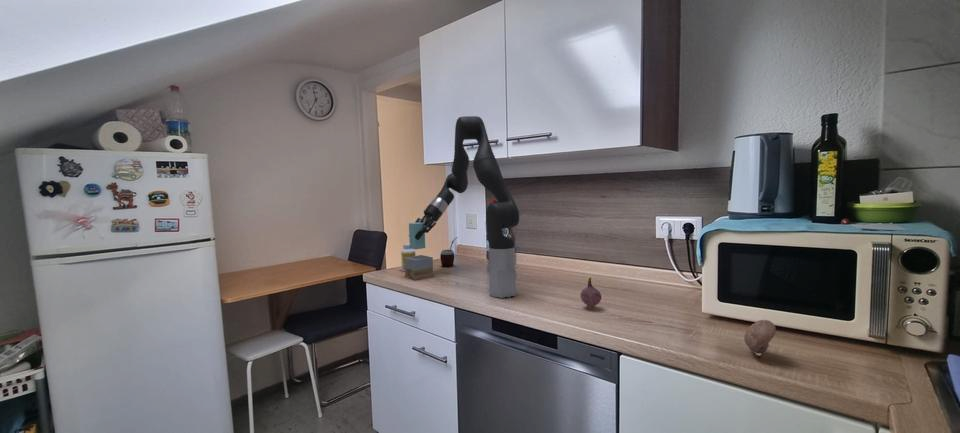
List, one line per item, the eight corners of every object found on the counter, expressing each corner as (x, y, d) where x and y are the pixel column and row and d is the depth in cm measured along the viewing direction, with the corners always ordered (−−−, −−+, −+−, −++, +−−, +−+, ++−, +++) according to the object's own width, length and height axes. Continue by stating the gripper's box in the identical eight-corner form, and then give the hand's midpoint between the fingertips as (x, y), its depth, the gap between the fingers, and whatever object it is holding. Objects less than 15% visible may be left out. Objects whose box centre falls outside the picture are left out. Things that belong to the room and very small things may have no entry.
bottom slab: (433, 277, 160) (432, 267, 159) (414, 281, 154) (414, 271, 154) (422, 274, 167) (422, 264, 166) (405, 277, 161) (404, 267, 161)
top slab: (433, 267, 160) (432, 257, 160) (415, 270, 154) (415, 260, 154) (421, 264, 167) (421, 255, 166) (404, 267, 161) (404, 257, 160)
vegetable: (576, 306, 116) (576, 275, 115) (592, 304, 118) (592, 273, 118) (588, 312, 111) (588, 280, 110) (605, 309, 113) (605, 278, 112)
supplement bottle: (417, 271, 172) (416, 244, 171) (403, 272, 170) (402, 245, 169) (414, 268, 178) (413, 242, 177) (400, 269, 176) (399, 243, 175)
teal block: (425, 248, 159) (424, 223, 158) (415, 249, 156) (414, 224, 155) (419, 246, 163) (418, 222, 162) (409, 248, 160) (408, 223, 159)
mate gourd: (438, 265, 184) (437, 236, 182) (453, 264, 187) (452, 235, 186) (443, 268, 177) (442, 238, 176) (458, 266, 180) (458, 236, 179)
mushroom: (768, 366, 76) (770, 329, 75) (735, 355, 81) (736, 320, 80) (781, 356, 80) (783, 320, 79) (748, 346, 85) (749, 313, 84)
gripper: (422, 203, 168) (400, 231, 162) (439, 203, 157) (415, 234, 151) (433, 213, 172) (411, 241, 166) (449, 215, 161) (427, 245, 154)
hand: (413, 237), depth 158 cm, fingers closed on teal block, 5 cm apart
